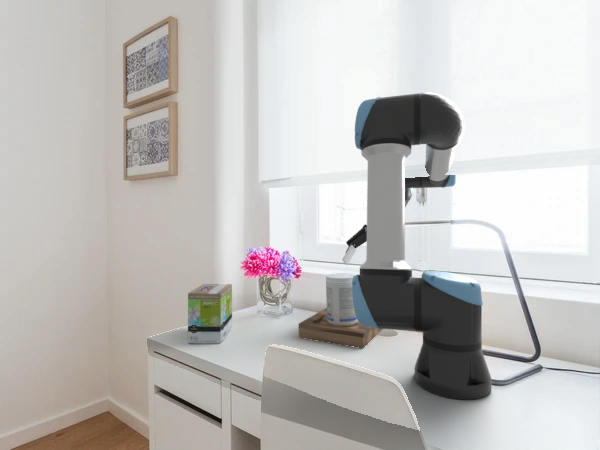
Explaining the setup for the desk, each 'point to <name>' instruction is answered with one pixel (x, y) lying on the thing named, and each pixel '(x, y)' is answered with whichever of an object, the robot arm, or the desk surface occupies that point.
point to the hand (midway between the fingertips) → (360, 264)
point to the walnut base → (336, 331)
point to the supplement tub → (340, 299)
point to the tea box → (209, 313)
